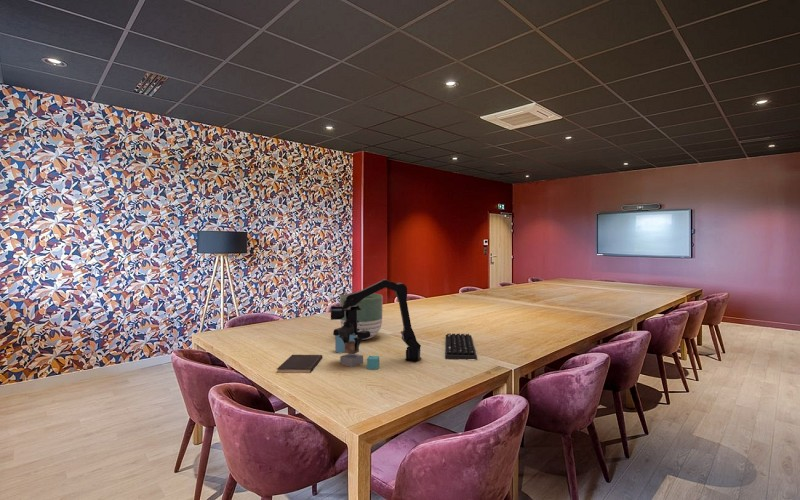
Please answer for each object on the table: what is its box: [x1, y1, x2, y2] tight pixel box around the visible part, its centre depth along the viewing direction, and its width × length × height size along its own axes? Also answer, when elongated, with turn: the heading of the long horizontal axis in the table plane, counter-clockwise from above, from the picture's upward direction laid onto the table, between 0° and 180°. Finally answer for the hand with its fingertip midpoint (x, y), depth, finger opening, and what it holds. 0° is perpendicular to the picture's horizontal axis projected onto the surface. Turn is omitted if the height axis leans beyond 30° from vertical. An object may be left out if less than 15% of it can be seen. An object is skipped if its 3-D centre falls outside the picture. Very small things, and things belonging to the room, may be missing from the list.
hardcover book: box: [276, 354, 323, 374], centre depth 190 cm, size 16×23×2 cm
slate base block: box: [339, 353, 364, 368], centre depth 192 cm, size 8×8×4 cm
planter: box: [339, 292, 384, 341], centre depth 242 cm, size 27×27×27 cm
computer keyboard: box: [444, 332, 478, 360], centre depth 220 cm, size 45×16×4 cm, turn 173°
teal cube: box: [366, 355, 380, 370], centre depth 185 cm, size 5×5×5 cm
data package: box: [334, 335, 356, 354], centre depth 214 cm, size 12×4×12 cm, turn 100°
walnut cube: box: [344, 341, 360, 354], centre depth 192 cm, size 5×5×5 cm
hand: (351, 350), depth 192 cm, fingers closed on walnut cube, 5 cm apart
